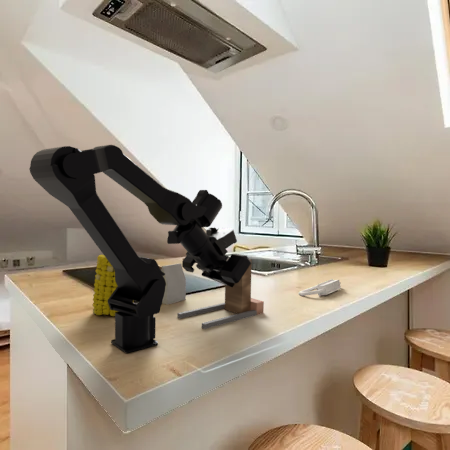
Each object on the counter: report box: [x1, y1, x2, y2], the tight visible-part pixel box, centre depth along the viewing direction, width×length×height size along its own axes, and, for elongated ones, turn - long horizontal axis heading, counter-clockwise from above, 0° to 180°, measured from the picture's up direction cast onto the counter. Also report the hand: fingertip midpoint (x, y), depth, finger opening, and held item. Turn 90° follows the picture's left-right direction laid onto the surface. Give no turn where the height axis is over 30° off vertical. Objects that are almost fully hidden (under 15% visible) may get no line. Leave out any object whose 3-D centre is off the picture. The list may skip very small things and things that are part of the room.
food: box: [92, 254, 135, 317], centre depth 86 cm, size 15×12×10 cm
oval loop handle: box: [298, 278, 342, 297], centre depth 112 cm, size 20×8×4 cm, turn 141°
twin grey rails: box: [177, 297, 265, 330], centre depth 85 cm, size 18×10×3 cm, turn 132°
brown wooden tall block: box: [224, 258, 253, 314], centre depth 88 cm, size 3×6×13 cm, turn 42°
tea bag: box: [160, 263, 187, 306], centre depth 97 cm, size 4×7×10 cm, turn 142°
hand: (232, 285), depth 87 cm, fingers closed, pressing on brown wooden tall block
